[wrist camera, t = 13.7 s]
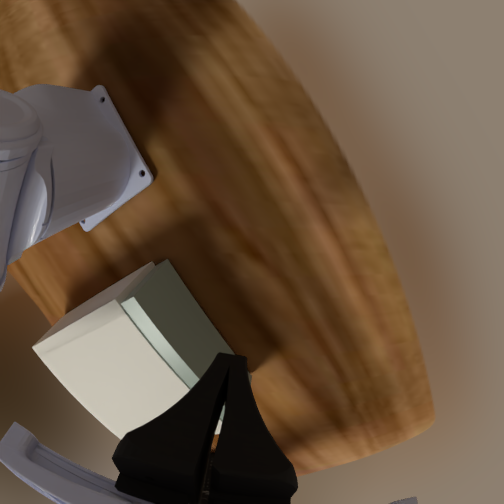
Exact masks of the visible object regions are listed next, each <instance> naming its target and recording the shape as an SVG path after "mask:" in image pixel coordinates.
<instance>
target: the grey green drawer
mask: <svg viewBox="0 0 504 504" xmlns="http://www.w3.org/2000/svg"><path fill="white" fill-rule="evenodd" d="M121 305H122V306H123V307H124V309H125V310H126V311H127V313H128V314H129V315H130V317H131V318H132V319H133V321H134V322H135V323H136V325H137V326H138V327H139V329H140V330H141V331H142V332H143V334H144V335H145V336H146V337H147V339H148V340H149V341H150V342H151V344H152V345H153V346H154V347H155V348H156V350H157V351H158V352H159V353H160V354H161V356H162V357H163V358H164V359H165V360H166V361H167V363H168V364H169V365H170V366H171V367H172V368H173V369H174V371H175V372H176V373H177V374H178V375H179V376H180V377H181V378H182V379H183V381H184V382H185V383H186V384H187V385H188V386H189V387H190V388H192V387H193V386H194V385H195V384H196V383H197V382H198V381H199V380H200V378H201V377H202V376H203V374H204V373H205V372H206V371H207V369H208V368H209V366H210V365H211V364H212V362H213V360H214V359H215V357H216V355H217V353H219V352H222V353H227V354H233V355H235V354H234V352H233V351H232V350H231V349H230V347H229V346H228V345H227V343H226V342H225V341H224V339H223V338H222V337H221V335H220V334H219V332H218V331H217V330H216V328H215V327H214V326H213V324H212V323H211V321H210V320H209V319H208V317H207V316H206V315H205V313H204V312H203V310H202V309H201V307H200V306H199V305H198V303H197V302H196V300H195V299H194V297H193V296H192V295H191V293H190V292H189V290H188V289H187V287H186V286H185V284H184V283H183V281H182V280H181V278H180V277H179V275H178V274H177V272H176V271H175V269H174V268H173V266H172V265H171V263H170V262H169V260H168V259H166V260H164V261H163V262H161V263H159V264H157V265H156V266H155V267H154V268H153V269H152V270H151V271H150V272H149V273H148V274H147V275H146V277H145V278H144V279H143V280H142V281H141V282H140V283H139V284H138V285H137V286H136V287H135V288H134V290H133V291H132V292H131V293H130V294H129V295H128V296H127V297H126V298H125V300H124V301H123V302H122V303H121ZM248 376H249V381H250V385H251V378H252V376H251V374H250V373H249V372H248ZM224 410H225V403H224V406H223V409H222V413H221V416H220V418H221V419H222V420H223V416H224Z"/></svg>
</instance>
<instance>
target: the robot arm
mask: <svg viewBox="0 0 504 504" xmlns="http://www.w3.org/2000/svg"><path fill="white" fill-rule="evenodd" d="M103 98H105V101H104V102H102V100H103ZM142 170H144V171H145V176H142V174H141V171H142ZM152 182H153V175H152V173H151V172H150V170H149V168H148V166H147V165H146V163H145V161H144V159H143V158H142V156H141V154H140V152H139V150H138V149H137V147H136V145H135V143H134V141H133V140H132V138H131V136H130V134H129V132H128V131H127V129H126V127H125V125H124V123H123V121H122V119H121V118H120V116H119V114H118V112H117V110H116V108H115V106H114V104H113V102H112V101H111V99H110V97H109V95H108V93H107V91H106V89H105V87H104V86H102V85H97V86H96V87H95V88H94V89H93V90H91V91H85V90H80V89H74V88H68V87H62V86H56V85H49V84H37V85H33V86H29V87H26V88H24V89H21V90H19V91H17V92H16V93H14V94H12V93H9V92H6V91H3V90H0V292H1V290H2V288H3V285H4V283H5V279H6V272H7V265H9V264H11V263H12V262H14V261H16V260H17V259H19V258H21V255H22V252H23V251H24V250H25V249H27V248H29V247H31V246H33V245H34V244H36V243H38V242H40V241H42V240H44V239H46V238H48V237H50V236H51V235H53V234H55V233H57V232H59V231H61V230H63V229H65V228H67V227H69V226H71V225H73V224H76V223H78V222H79V223H80V224H81V226H82V228H83V229H84V230H85V231H87V232H88V231H90V230H91V229H93V228H94V227H95V226H96V225H98V224H99V223H100V222H101V221H103V220H104V219H105V218H106V217H108V216H109V215H110V214H111V213H113V212H114V211H115V210H117V209H118V208H119V207H120V206H122V205H123V204H124V203H126V202H127V201H128V200H130V199H131V198H133V197H134V196H135V195H137V194H138V193H139V192H141V191H142V190H144V189H145V188H146V187H148V186H149V185H151V184H152ZM84 219H85V222H84ZM224 403H225V410H224V416H223V421H222V425H221V430H220V434H219V438H218V443H217V447H216V451H215V455H214V459H213V463H212V472H211V485H210V490H209V495H208V504H290V499H291V497H292V496H293V494H294V493H295V492H296V491H297V488H298V482H297V477H296V473H295V470H294V467H293V465H292V463H291V462H290V461H289V460H288V459H287V457H286V456H285V455H284V454H283V452H282V451H281V450H280V448H279V447H278V445H277V444H276V442H275V441H274V439H273V437H272V436H271V434H270V432H269V431H268V429H267V427H266V425H265V423H264V421H263V419H262V417H261V415H260V412H259V410H258V408H257V405H256V402H255V399H254V396H253V393H252V389H251V385H250V381H249V376H248V370H247V358H246V357H245V356H239V355H233V354H227V353H222V352H219V353H217V355H216V357H215V359H214V360H213V362H212V364H211V365H210V366H209V368H208V369H207V371H206V372H205V373H204V374H203V376H202V377H201V378H200V380H199V381H198V382H197V383H196V384H195V385H194V386H193V387H192V388H191V389H190V390H189V392H188V393H187V394H185V395H184V396H183V397H182V398H181V399H180V400H179V401H178V402H177V403H175V404H174V405H173V406H172V407H170V408H169V409H168V410H166V411H165V412H164V413H162V414H161V415H159V416H158V417H156V418H154V419H153V420H151V421H149V422H148V423H146V424H144V425H142V426H140V427H138V428H136V429H134V430H132V431H130V432H127V433H126V434H125V436H124V437H123V438H122V439H121V441H120V443H119V444H118V446H117V448H116V450H115V452H114V454H113V457H112V460H113V462H114V464H115V465H116V467H117V469H118V470H119V472H120V474H119V476H118V479H117V481H114V480H111V479H109V478H106V477H104V476H102V475H99V474H97V473H95V472H93V471H91V470H89V469H87V468H84V467H82V466H80V465H78V464H76V463H74V462H72V461H71V460H69V459H67V458H65V457H63V456H61V455H60V454H58V453H56V452H54V451H53V450H51V449H49V448H47V447H46V446H44V445H42V444H41V443H39V441H38V440H37V438H36V437H35V436H34V435H33V434H32V433H31V432H29V431H28V430H27V429H25V428H24V427H22V426H21V425H19V424H18V423H16V422H14V423H13V424H12V426H11V427H10V429H9V430H8V432H7V433H6V434H5V436H4V437H3V439H2V440H1V442H0V461H1V462H2V463H3V464H4V465H5V466H6V467H7V468H8V469H9V470H10V471H12V472H13V473H14V474H15V475H16V476H17V477H19V478H20V479H21V480H23V481H24V482H25V483H27V484H28V485H30V486H31V487H32V488H34V489H35V490H37V491H38V492H40V493H41V494H43V495H44V496H46V497H47V498H49V499H50V500H52V501H54V502H55V503H57V504H200V502H201V497H202V492H203V486H204V481H205V476H206V471H207V466H208V461H209V456H210V451H211V446H212V442H213V438H214V435H215V431H216V428H217V425H218V422H219V419H220V416H221V413H222V409H223V406H224ZM390 504H418V503H417V498H416V497H411V498H407V499H403V500H398V501H395V502H392V503H390Z"/></svg>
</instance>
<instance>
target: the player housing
mask: <svg viewBox="0 0 504 504" xmlns="http://www.w3.org/2000/svg"><path fill="white" fill-rule="evenodd" d="M154 267H155V264H154V263H153V261H151V262H150V263H148V264H146V265H145V266H143V267H141V268H140V269H138V270H136V271H135V272H133V273H131V274H130V275H128V276H126V277H125V278H123V279H121V280H120V281H118V282H116V283H115V284H113V285H111V286H110V287H108V288H107V289H105V290H103V291H102V292H100V293H98V294H97V295H95V296H94V297H92V298H90V299H89V300H87V301H86V302H84V303H83V304H81V305H79V306H78V307H76V308H75V309H73V310H72V311H70V312H68V313H67V314H65V315H64V316H63V317H62V318H61V319H60V320H59V321H58V322H57V323H56V324H55V325H54V326H53V327H52V328H51V329H50V330H49V331H48V332H47V333H46V334H45V335H44V336H43V337H42V338H41V339H40V340H39V341H38V342H37V343H36V344H35V345H34V346H33V347H32V348H33V349H34V351H35V352H36V353H37V355H38V356H39V357H40V358H41V360H42V361H43V362H44V363H45V364H46V365H47V367H48V368H49V369H50V371H51V372H52V373H53V374H54V375H55V376H56V377H57V378H58V380H59V381H60V382H61V383H62V384H63V385H64V386H65V388H66V389H67V390H68V391H69V392H70V393H71V394H72V395H73V396H74V397H75V398H76V399H77V400H78V401H79V402H80V403H81V404H82V405H83V406H84V407H85V408H86V409H87V410H88V411H89V412H90V413H91V414H92V415H93V416H94V417H95V418H96V419H98V420H99V421H100V422H101V423H102V424H103V425H104V426H106V427H107V428H108V429H109V430H110V431H111V432H112V433H114V434H115V435H116V436H117V437H118V438H120V439H122V438H123V437H124V436H125V434H126V433H127V432H130V431H132V430H134V429H136V428H138V427H140V426H142V425H144V424H146V423H148V422H149V421H151V420H153V419H154V418H156V417H158V416H159V415H161V414H162V413H164V412H165V411H166V410H168V409H169V408H170V407H172V406H173V405H174V404H175V403H177V402H178V401H179V400H180V399H181V398H182V397H183V396H184V395H185V394H187V393H188V392H189V390H190V389H191V388H190V387H189V386H188V385H187V384H186V383H185V382H184V381H183V379H182V378H181V377H180V376H179V375H178V374H177V373H176V372H175V371H174V369H173V368H172V367H171V366H170V365H169V364H168V363H167V361H166V360H165V359H164V358H163V357H162V356H161V354H160V353H159V352H158V351H157V350H156V348H155V347H154V346H153V345H152V344H151V342H150V341H149V340H148V339H147V337H146V336H145V335H144V334H143V332H142V331H141V330H140V329H139V327H138V326H137V325H136V323H135V322H134V321H133V319H132V318H131V317H130V315H129V314H128V313H127V311H126V310H125V309H124V307H123V306H122V305H121V303H122V302H123V301H124V300H125V298H126V297H127V296H128V295H129V294H130V293H131V292H132V291H133V290H134V288H135V287H136V286H137V285H138V284H139V283H140V282H141V281H142V280H143V279H144V278H145V277H146V275H147V274H148V273H149V272H150V271H151V270H152V269H153V268H154ZM222 421H223V420H222V419H221V418H220V419H219V422H218V425H217V428H216V431H215V434H220V430H221V425H222Z"/></svg>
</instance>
